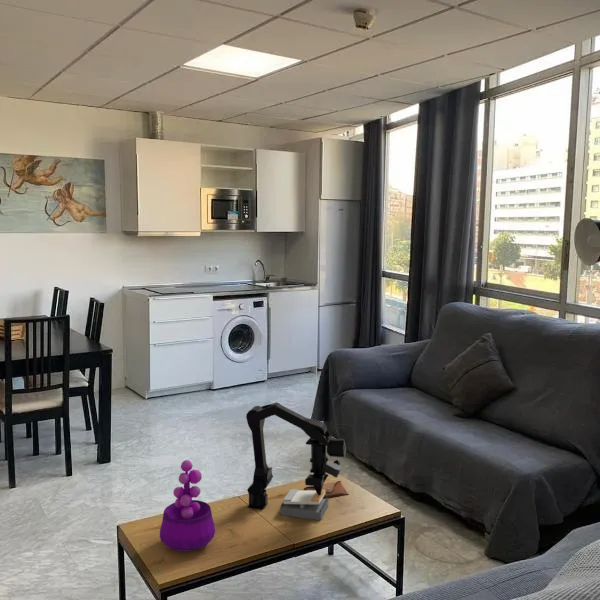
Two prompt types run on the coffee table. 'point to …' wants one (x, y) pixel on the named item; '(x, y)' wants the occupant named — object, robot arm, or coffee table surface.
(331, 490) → the sunglasses case
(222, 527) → the coffee table surface
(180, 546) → the decorative plant
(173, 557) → the coffee table surface
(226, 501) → the coffee table surface
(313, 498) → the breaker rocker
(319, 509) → the box
